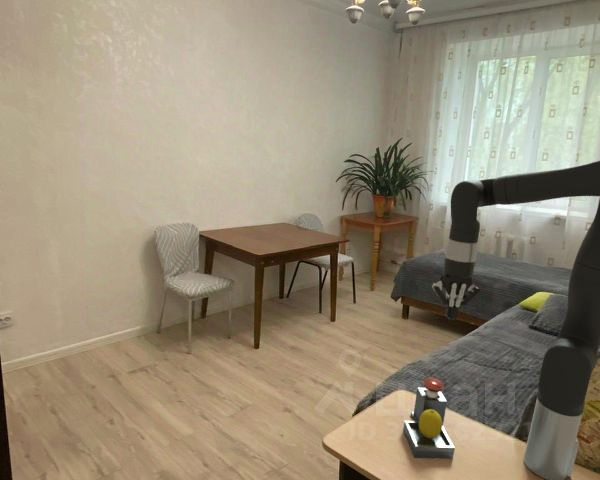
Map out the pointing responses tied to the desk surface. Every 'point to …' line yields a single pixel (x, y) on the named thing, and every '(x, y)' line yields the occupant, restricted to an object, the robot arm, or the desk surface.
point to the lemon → (430, 423)
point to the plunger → (433, 387)
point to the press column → (428, 404)
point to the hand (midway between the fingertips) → (450, 318)
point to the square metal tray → (427, 443)
